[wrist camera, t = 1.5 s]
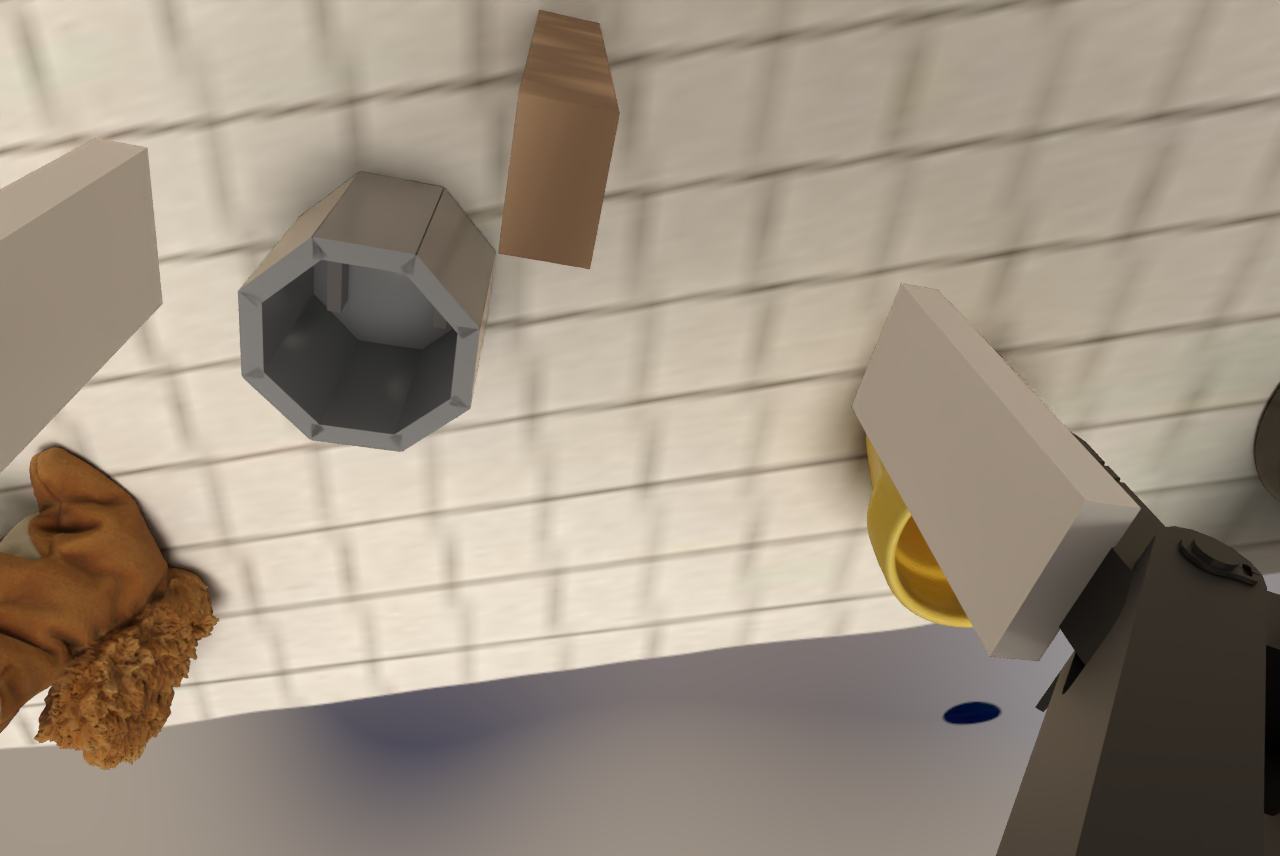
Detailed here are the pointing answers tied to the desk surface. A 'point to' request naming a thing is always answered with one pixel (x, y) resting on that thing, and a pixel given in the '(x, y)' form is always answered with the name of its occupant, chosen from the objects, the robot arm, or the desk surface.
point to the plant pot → (907, 553)
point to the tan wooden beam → (560, 144)
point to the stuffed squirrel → (93, 615)
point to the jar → (370, 314)
